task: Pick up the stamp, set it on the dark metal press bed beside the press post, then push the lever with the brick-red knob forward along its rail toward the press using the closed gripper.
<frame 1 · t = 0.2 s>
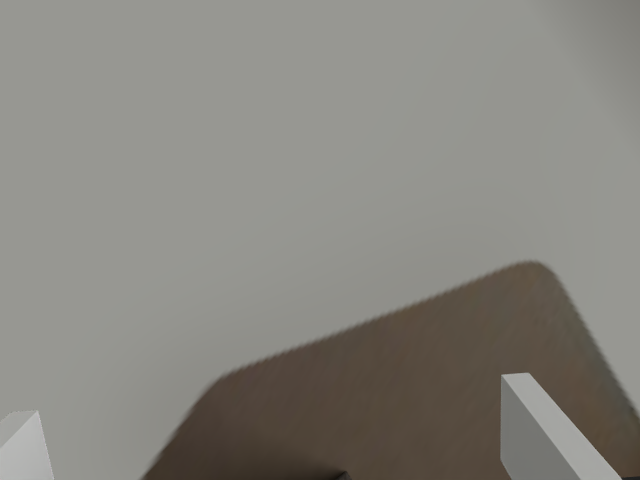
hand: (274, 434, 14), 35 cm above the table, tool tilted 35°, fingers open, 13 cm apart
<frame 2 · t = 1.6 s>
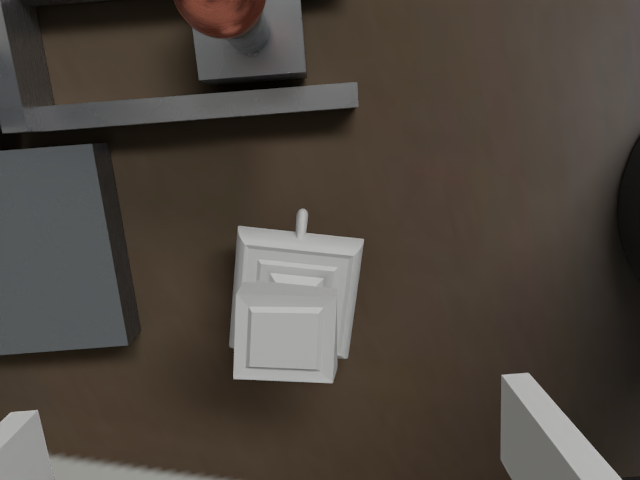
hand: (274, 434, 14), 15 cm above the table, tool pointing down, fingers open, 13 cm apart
lever: (239, 17, 19), point 6 cm above the table, slide at 0.0 cm
lever guide: (198, 46, 25), on the table
stamp: (296, 277, 28), on the table
press bed: (37, 247, 27), on the table
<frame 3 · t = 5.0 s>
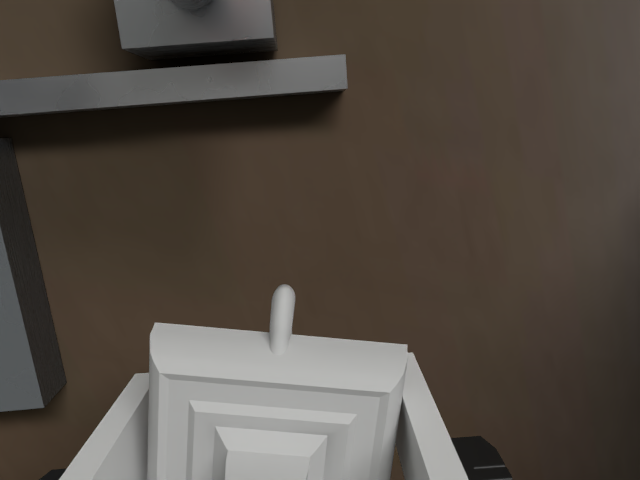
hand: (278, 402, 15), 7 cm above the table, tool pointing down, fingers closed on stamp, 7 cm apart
lever guide: (129, 6, 18), on the table
stamp: (279, 392, 16), point 6 cm above the table, touching gripper
when the fingers open (3 cm above the table, at t = 9.4 s): stamp stays where it is, resting on press bed.
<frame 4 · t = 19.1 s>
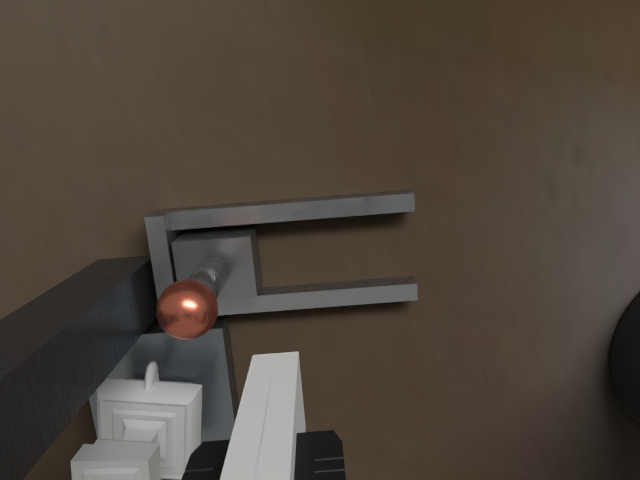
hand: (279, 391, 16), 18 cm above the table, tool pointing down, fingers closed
lever: (205, 283, 28), point 6 cm above the table, slide at 8.2 cm
lever guide: (297, 251, 34), on the table
stamp: (163, 404, 34), point 2 cm above the table, touching press bed
press bed: (169, 390, 36), on the table
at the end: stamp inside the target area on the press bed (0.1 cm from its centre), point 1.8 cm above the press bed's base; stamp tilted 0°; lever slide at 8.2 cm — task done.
